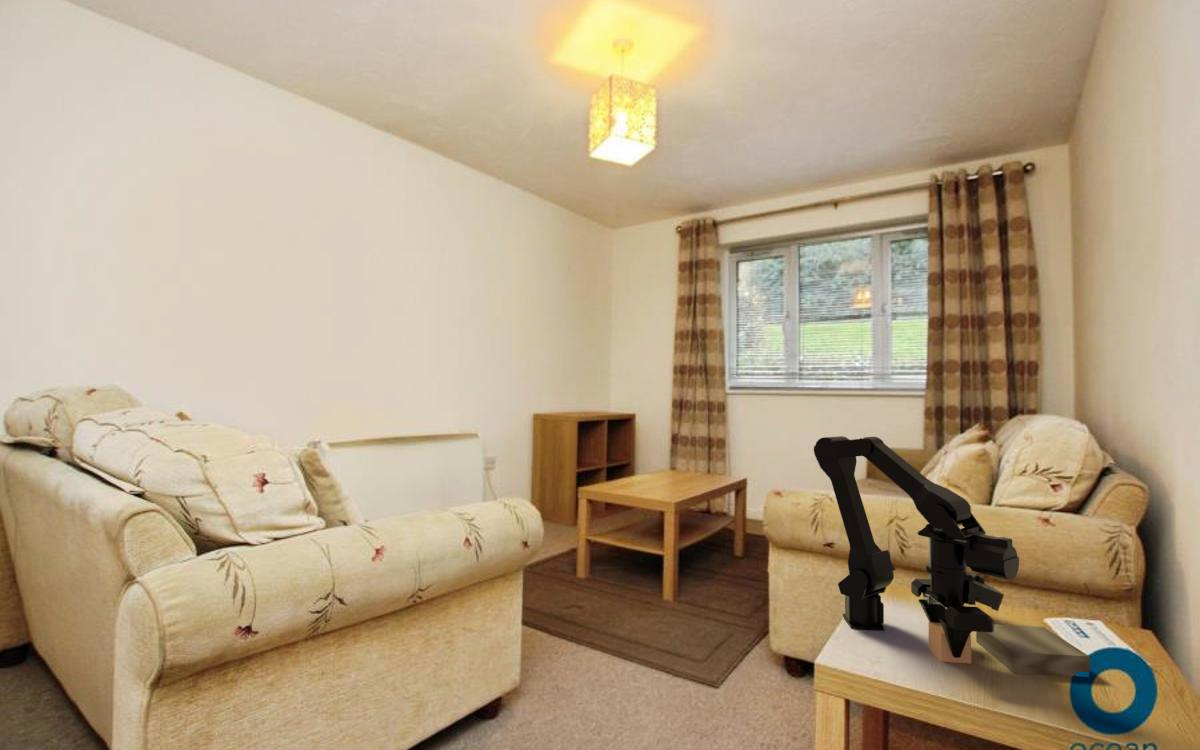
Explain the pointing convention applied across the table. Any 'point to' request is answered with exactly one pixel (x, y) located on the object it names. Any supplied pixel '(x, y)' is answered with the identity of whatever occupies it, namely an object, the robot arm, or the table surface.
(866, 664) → the table surface
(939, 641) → the terracotta cube
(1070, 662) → the dark box
